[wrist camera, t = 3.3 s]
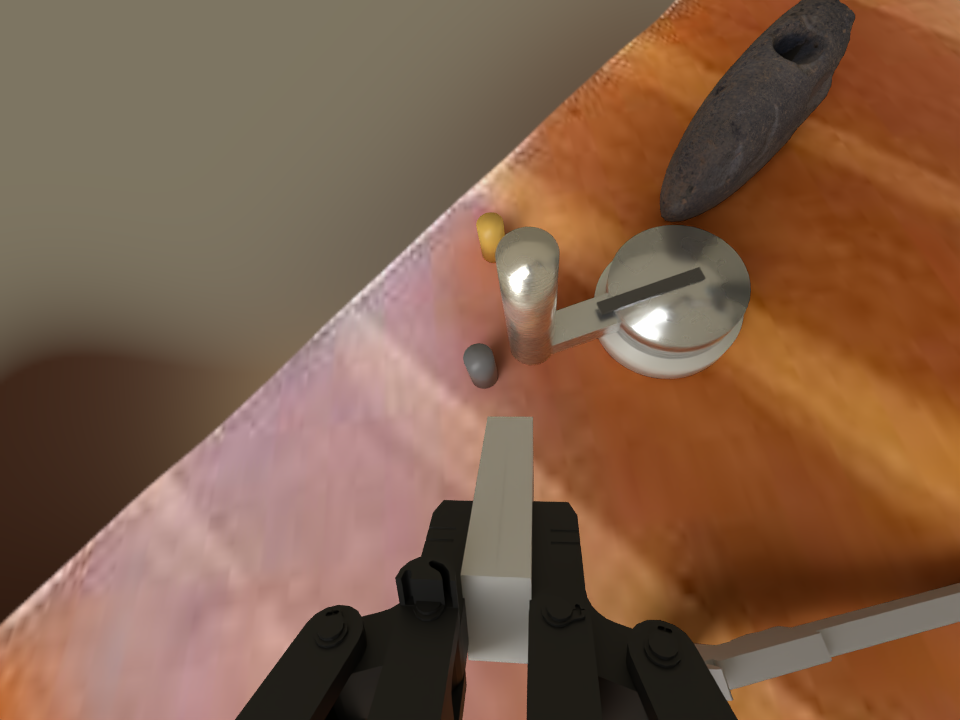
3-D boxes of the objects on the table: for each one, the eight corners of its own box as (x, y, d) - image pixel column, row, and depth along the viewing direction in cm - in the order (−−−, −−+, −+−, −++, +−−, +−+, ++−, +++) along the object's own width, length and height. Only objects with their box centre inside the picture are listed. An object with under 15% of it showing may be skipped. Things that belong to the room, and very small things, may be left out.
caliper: (631, 676, 23) (661, 721, 17) (623, 650, 23) (651, 685, 18) (1072, 581, 22) (1260, 594, 16) (1057, 556, 23) (1235, 560, 17)
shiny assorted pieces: (661, 183, 32) (672, 148, 29) (760, 351, 27) (785, 329, 25) (432, 262, 32) (421, 235, 29) (493, 444, 27) (487, 432, 25)
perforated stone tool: (687, 262, 30) (727, 184, 23) (618, 216, 32) (637, 132, 25) (826, 111, 33) (897, 4, 26) (755, 76, 34) (805, -32, 28)
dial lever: (698, 230, 28) (767, 90, 20) (761, 333, 26) (871, 226, 17) (491, 301, 28) (469, 193, 20) (533, 412, 26) (528, 345, 17)
